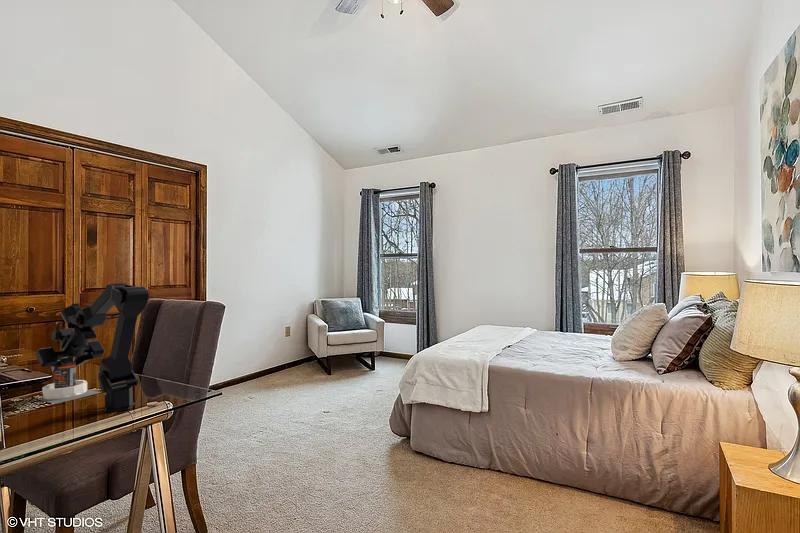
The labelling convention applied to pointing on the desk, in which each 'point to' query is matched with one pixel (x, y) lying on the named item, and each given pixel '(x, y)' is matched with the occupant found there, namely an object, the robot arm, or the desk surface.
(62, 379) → the supplement bottle
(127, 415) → the desk surface
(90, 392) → the mat
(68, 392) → the bowl
